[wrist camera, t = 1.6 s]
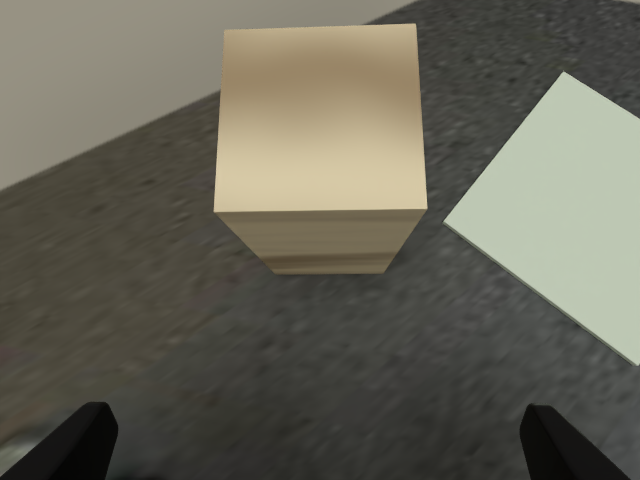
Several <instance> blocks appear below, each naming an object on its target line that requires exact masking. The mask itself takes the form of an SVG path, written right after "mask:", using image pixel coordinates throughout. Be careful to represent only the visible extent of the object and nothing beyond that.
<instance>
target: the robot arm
mask: <svg viewBox="0 0 640 480" xmlns="http://www.w3.org/2000/svg"><path fill="white" fill-rule="evenodd" d="M117 436H118V424H117V421H116V419H115V417H114V415H113V413H112V411H111V408H110V406H109V405H108V404H107V403H106V402H88V403H86V404H84V405H83V406H82V407H80V408H79V409H78V410H77V411H76V412H75V413H73V414H72V415H71V416H70V417H69V418H68V419H67V420H65V421H64V422H63V423H62V424H61V425H60V426H58V427H57V428H56V429H55V430H54V431H53V432H52V433H50V434H49V435H48V436H47V437H46V438H45V439H43V440H42V441H41V442H40V443H39V444H38V445H37V446H35V447H34V448H33V449H32V450H31V451H30V452H28V453H27V454H26V455H25V456H24V457H23V458H21V459H20V460H19V461H18V462H17V463H16V464H15V465H13V466H12V467H11V468H10V469H9V470H8V471H6V472H5V473H4V474H3V475H2V476H1V477H0V480H105V477H106V474H107V470H108V467H109V463H110V460H111V456H112V453H113V450H114V446H115V443H116V439H117ZM520 439H521V443H522V447H523V451H524V454H525V458H526V462H527V466H528V470H529V474H530V478H531V480H631V479H630V478H628V477H627V476H626V475H625V474H624V473H623V472H622V471H621V470H620V469H619V468H618V467H617V466H616V465H615V464H614V463H613V462H611V461H610V460H609V459H608V458H607V457H606V456H605V455H604V454H603V453H602V452H601V451H600V450H599V449H598V448H597V447H596V446H594V445H593V444H592V443H591V442H590V441H589V440H588V439H587V438H586V437H585V436H584V435H583V434H582V433H581V432H580V431H579V430H577V429H576V428H575V427H574V426H573V425H572V424H571V423H570V422H569V421H568V420H567V419H566V418H565V417H564V416H563V415H562V414H561V413H559V412H558V411H557V410H556V409H555V408H554V407H553V406H551V405H550V404H546V403H531V404H529V405H528V406H527V408H526V411H525V414H524V416H523V419H522V422H521V425H520Z"/></svg>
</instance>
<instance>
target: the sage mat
mask: <svg viewBox="0 0 640 480" xmlns="http://www.w3.org/2000/svg"><path fill="white" fill-rule="evenodd" d="M442 223H443V224H444V225H445V226H447V227H448V228H449V229H451V230H452V231H453V232H455V233H456V234H457V235H459V236H460V237H461V238H463V239H464V240H465V241H467V242H468V243H469V244H471V245H472V246H473V247H475V248H476V249H477V250H479V251H480V252H481V253H483V254H484V255H485V256H487V257H488V258H490V259H491V260H492V261H494V262H495V263H496V264H498V265H499V266H500V267H502V268H503V269H504V270H506V271H507V272H508V273H510V274H511V275H512V276H514V277H515V278H516V279H518V280H519V281H520V282H522V283H523V284H524V285H526V286H527V287H528V288H530V289H531V290H532V291H534V292H535V293H536V294H538V295H539V296H540V297H542V298H543V299H544V300H546V301H547V302H549V303H550V304H551V305H553V306H554V307H555V308H557V309H558V310H559V311H561V312H562V313H563V314H565V315H566V316H567V317H569V318H570V319H571V320H573V321H574V322H575V323H577V324H578V325H579V326H581V327H582V328H583V329H585V330H586V331H587V332H589V333H590V334H591V335H593V336H594V337H595V338H597V339H598V340H599V341H601V342H602V343H603V344H605V345H606V346H607V347H609V348H610V349H612V350H613V351H614V352H616V353H617V354H618V355H620V356H621V357H622V358H624V359H625V360H626V361H628V362H629V363H630V364H632V365H635V366H638V365H639V364H640V119H639V118H637V117H635V116H634V115H632V114H631V113H629V112H627V111H626V110H624V109H623V108H621V107H619V106H618V105H616V104H615V103H613V102H611V101H610V100H608V99H607V98H605V97H604V96H602V95H600V94H599V93H597V92H596V91H594V90H592V89H591V88H589V87H588V86H586V85H584V84H583V83H581V82H580V81H578V80H576V79H575V78H573V77H572V76H570V75H568V74H567V73H565V72H563V73H562V74H561V75H560V76H559V78H558V79H557V80H556V81H555V83H554V84H553V85H552V86H551V88H550V89H549V90H548V91H547V93H546V94H545V95H544V96H543V98H542V99H541V100H540V101H539V103H538V104H537V105H536V106H535V108H534V109H533V110H532V111H531V113H530V114H529V115H528V116H527V118H526V119H525V120H524V121H523V123H522V124H521V125H520V126H519V128H518V129H517V130H516V131H515V133H514V134H513V135H512V136H511V138H510V139H509V140H508V141H507V143H506V144H505V145H504V146H503V148H502V149H501V150H500V151H499V153H498V154H497V155H496V156H495V158H494V159H493V160H492V161H491V162H490V164H489V165H488V166H487V167H486V169H485V170H484V171H483V172H482V174H481V175H480V176H479V177H478V179H477V180H476V181H475V182H474V184H473V185H472V186H471V187H470V189H469V190H468V191H467V192H466V194H465V195H464V196H463V197H462V199H461V200H460V201H459V202H458V204H457V205H456V206H455V207H454V209H453V210H452V211H451V212H450V214H449V215H448V216H447V217H446V219H445V220H444V221H443V222H442Z"/></svg>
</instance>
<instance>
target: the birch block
mask: <svg viewBox="0 0 640 480" xmlns="http://www.w3.org/2000/svg"><path fill="white" fill-rule="evenodd" d="M426 210H427V195H426V179H425V163H424V147H423V131H422V115H421V99H420V83H419V66H418V50H417V34H416V24H393V25H363V26H332V27H304V28H273V29H272V28H271V29H243V30H225V31H224V47H223V64H222V81H221V98H220V115H219V132H218V149H217V166H216V183H215V200H214V213H215V214H216V215H217V216H218V217H219V218H220V219H221V220H222V221H223V222H224V223H225V224H226V225H227V226H228V227H229V228H230V229H231V230H232V231H233V232H234V233H235V234H236V235H237V236H238V237H239V238H240V239H241V240H242V241H243V242H244V243H245V244H246V245H247V246H248V247H249V248H250V249H251V250H252V251H253V252H254V253H255V254H256V255H257V256H258V257H259V258H260V259H261V260H262V261H263V262H264V263H265V264H266V265H267V266H268V267H269V268H270V269H271V270H272V271H273V272H274V273H275V274H383V273H384V272H385V270H386V269H387V267H388V266H389V264H390V263H391V262H392V260H393V259H394V257H395V256H396V254H397V253H398V251H399V250H400V248H401V247H402V245H403V244H404V242H405V241H406V239H407V238H408V237H409V235H410V234H411V232H412V231H413V229H414V228H415V226H416V225H417V223H418V222H419V220H420V219H421V217H422V216H423V214H424V213H425V212H426Z"/></svg>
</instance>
